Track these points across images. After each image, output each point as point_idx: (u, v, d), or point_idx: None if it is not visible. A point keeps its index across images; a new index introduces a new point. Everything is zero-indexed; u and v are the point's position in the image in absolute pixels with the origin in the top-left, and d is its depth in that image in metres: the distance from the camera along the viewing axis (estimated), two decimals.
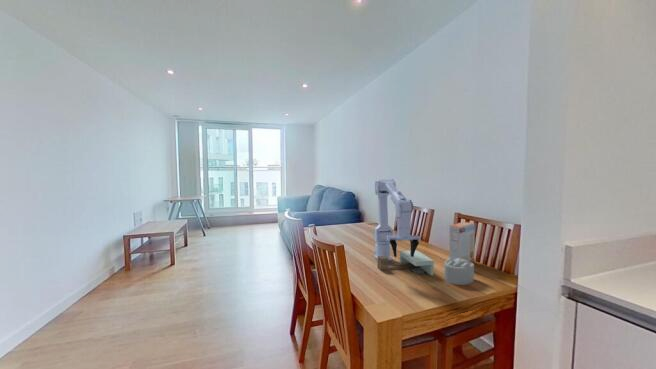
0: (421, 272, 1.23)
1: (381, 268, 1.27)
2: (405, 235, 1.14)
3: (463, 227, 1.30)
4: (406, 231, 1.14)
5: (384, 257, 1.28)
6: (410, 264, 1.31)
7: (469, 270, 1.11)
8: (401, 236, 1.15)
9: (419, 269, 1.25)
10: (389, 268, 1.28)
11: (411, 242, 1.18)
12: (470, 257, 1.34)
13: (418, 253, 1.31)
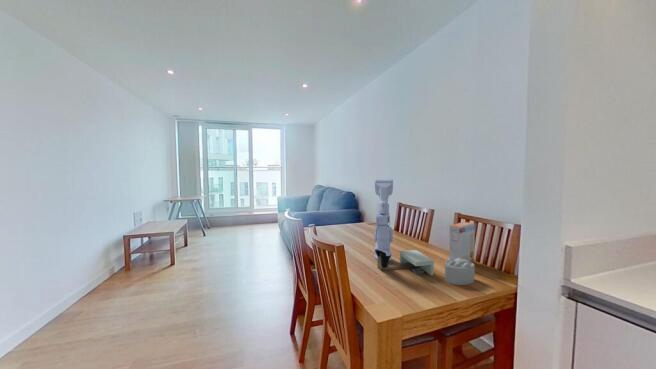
0: (421, 272, 1.23)
1: (381, 268, 1.27)
2: (377, 245, 1.28)
3: (463, 227, 1.30)
4: (377, 242, 1.27)
5: None
6: (410, 264, 1.31)
7: (470, 270, 1.11)
8: None
9: (419, 269, 1.25)
10: (389, 268, 1.28)
11: None
12: (470, 257, 1.34)
13: (418, 253, 1.31)
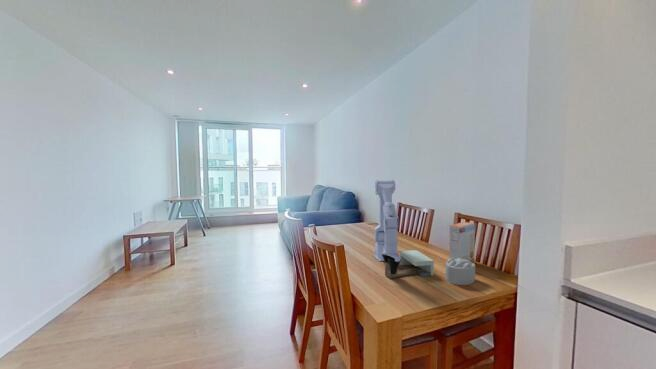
0: (427, 274, 1.20)
1: (390, 275, 1.17)
2: (385, 249, 1.18)
3: (463, 227, 1.30)
4: (385, 246, 1.17)
5: None
6: (417, 269, 1.24)
7: (471, 270, 1.11)
8: (384, 250, 1.20)
9: (424, 271, 1.21)
10: (398, 275, 1.19)
11: None
12: (470, 257, 1.34)
13: (418, 253, 1.31)
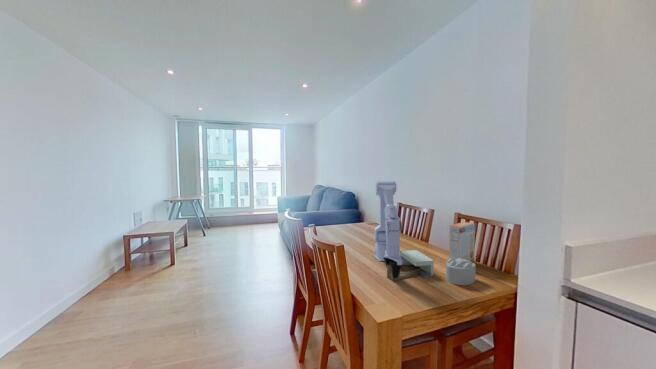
0: (429, 276, 1.18)
1: (393, 278, 1.15)
2: (387, 253, 1.16)
3: (463, 227, 1.30)
4: (387, 249, 1.15)
5: None
6: (418, 270, 1.23)
7: (471, 270, 1.11)
8: (386, 253, 1.18)
9: (426, 273, 1.20)
10: (400, 277, 1.17)
11: None
12: (470, 257, 1.34)
13: (418, 253, 1.31)
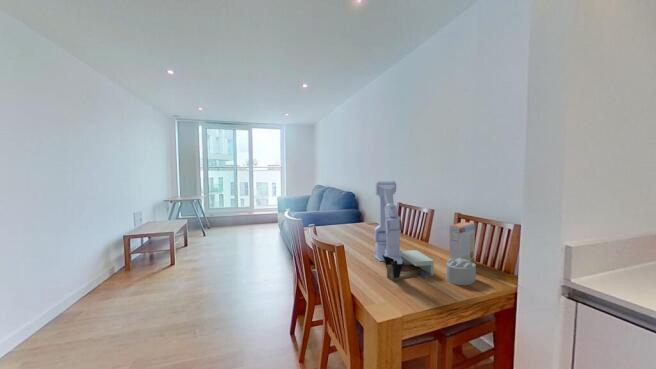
0: (429, 276, 1.18)
1: (393, 278, 1.15)
2: (387, 252, 1.16)
3: (463, 227, 1.30)
4: (387, 248, 1.15)
5: None
6: (418, 270, 1.23)
7: (471, 270, 1.11)
8: (386, 252, 1.18)
9: (426, 273, 1.20)
10: (400, 277, 1.17)
11: None
12: (470, 257, 1.34)
13: (418, 253, 1.31)
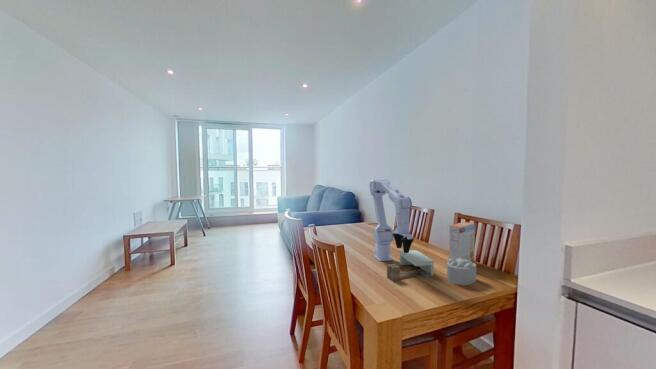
0: (429, 276, 1.18)
1: (393, 278, 1.15)
2: (397, 229, 1.24)
3: (463, 227, 1.30)
4: (397, 225, 1.23)
5: (395, 266, 1.16)
6: (418, 270, 1.23)
7: (472, 270, 1.11)
8: (396, 229, 1.25)
9: (426, 273, 1.20)
10: (400, 277, 1.17)
11: None
12: (470, 257, 1.34)
13: (418, 253, 1.31)
